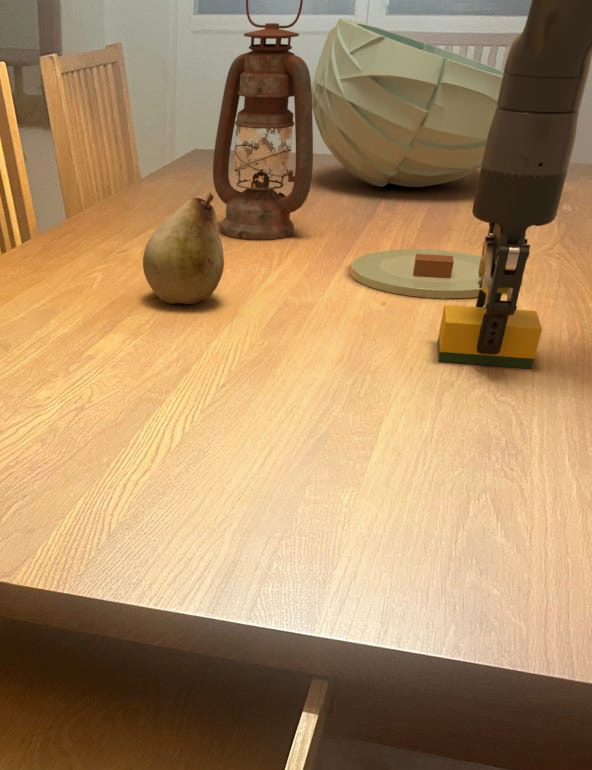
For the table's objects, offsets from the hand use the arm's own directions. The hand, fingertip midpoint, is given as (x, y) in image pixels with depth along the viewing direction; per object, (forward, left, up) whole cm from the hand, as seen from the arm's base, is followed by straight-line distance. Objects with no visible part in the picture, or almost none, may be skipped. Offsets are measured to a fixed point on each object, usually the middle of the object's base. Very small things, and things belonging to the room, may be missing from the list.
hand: (484, 339), depth 98 cm
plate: (+5, -30, -2) cm, 30 cm away
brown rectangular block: (+5, -27, -1) cm, 27 cm away
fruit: (+34, -12, -2) cm, 36 cm away
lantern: (+30, -50, -2) cm, 58 cm away
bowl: (+9, -92, -2) cm, 92 cm away
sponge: (0, 0, -2) cm, 2 cm away
